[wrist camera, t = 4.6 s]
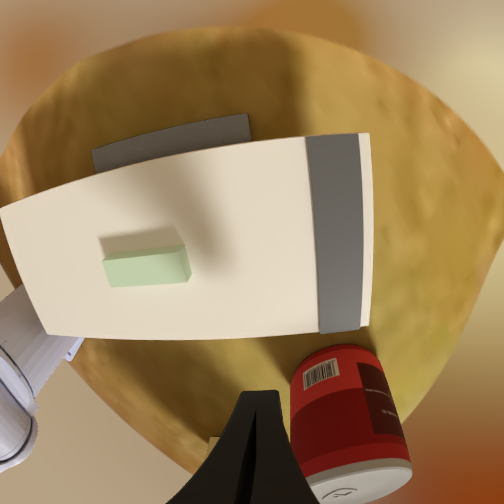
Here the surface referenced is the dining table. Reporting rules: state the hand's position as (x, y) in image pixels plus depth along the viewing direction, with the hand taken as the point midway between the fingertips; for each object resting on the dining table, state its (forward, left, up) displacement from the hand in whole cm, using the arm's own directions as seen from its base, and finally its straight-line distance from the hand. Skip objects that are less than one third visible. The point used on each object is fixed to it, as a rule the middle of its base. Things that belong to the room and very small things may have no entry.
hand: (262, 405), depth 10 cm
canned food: (-3, -10, -10) cm, 15 cm away
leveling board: (-1, +7, -6) cm, 9 cm away
